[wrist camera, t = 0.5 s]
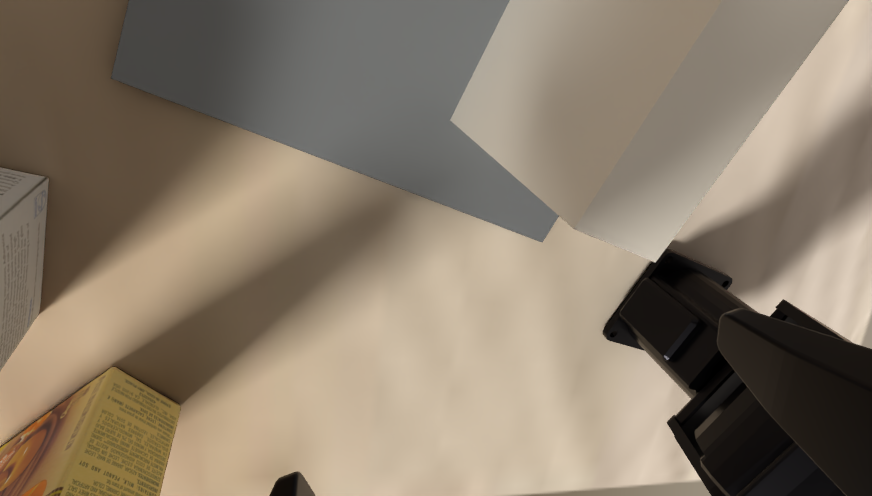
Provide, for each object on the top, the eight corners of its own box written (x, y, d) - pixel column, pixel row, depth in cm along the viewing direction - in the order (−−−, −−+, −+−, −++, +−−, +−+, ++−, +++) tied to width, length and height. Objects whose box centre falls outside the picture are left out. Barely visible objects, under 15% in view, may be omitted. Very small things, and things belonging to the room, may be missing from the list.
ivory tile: (601, -10, 19) (856, 5, 10) (512, 150, 21) (662, 265, 13) (538, -57, 17) (775, -83, 9) (450, 120, 20) (573, 228, 11)
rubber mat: (713, -43, 20) (721, -43, 19) (538, 238, 24) (542, 242, 24) (242, -480, 11) (241, -493, 11) (114, 76, 16) (110, 78, 16)
